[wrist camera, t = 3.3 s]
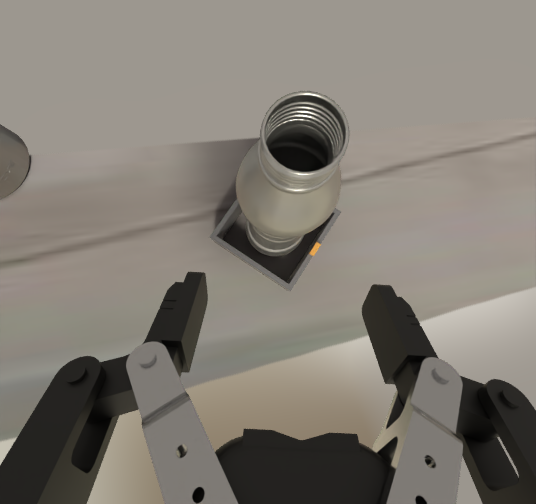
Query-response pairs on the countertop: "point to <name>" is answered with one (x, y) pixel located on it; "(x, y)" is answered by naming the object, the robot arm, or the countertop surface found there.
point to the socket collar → (217, 238)
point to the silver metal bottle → (292, 171)
